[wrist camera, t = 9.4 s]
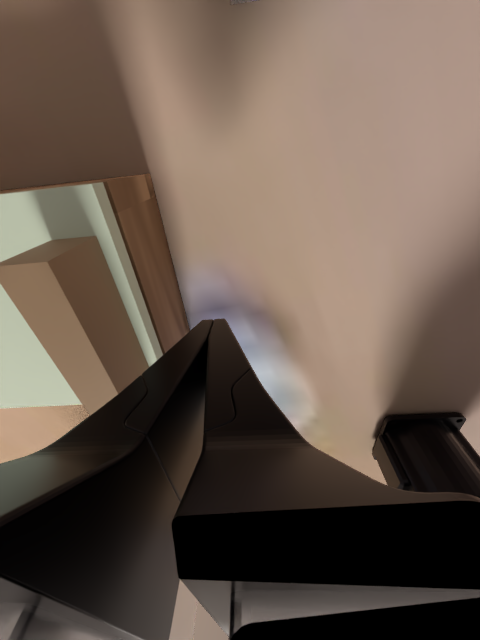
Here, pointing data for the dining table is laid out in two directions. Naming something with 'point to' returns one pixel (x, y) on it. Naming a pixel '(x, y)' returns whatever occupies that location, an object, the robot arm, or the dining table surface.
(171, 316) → the box
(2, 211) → the lid
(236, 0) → the cube
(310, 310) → the dining table surface
